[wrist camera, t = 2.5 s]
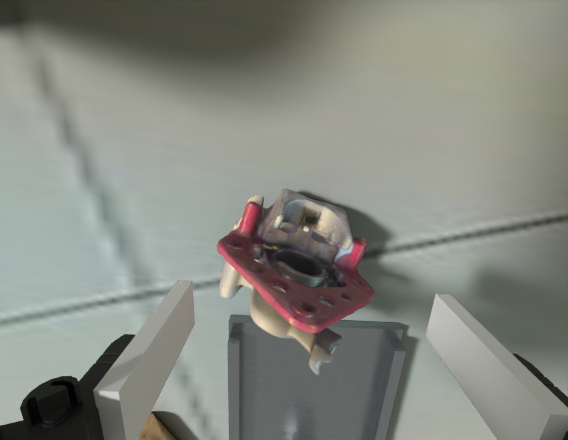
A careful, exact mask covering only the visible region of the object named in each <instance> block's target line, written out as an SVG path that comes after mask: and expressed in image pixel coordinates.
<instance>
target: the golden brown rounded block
mask: <svg viewBox="0 0 568 440" xmlns="http://www.w3.org/2000/svg"><path fill="white" fill-rule="evenodd" d="M137 440H176V439H175V438H174V437H173V436H172V435H171V434H170V432H169V431H168V430H167V429H166V428H165V427H164V426H163V425H162V423H161V422H160V421H159V420H158V419H157V418H156V417H155V416H154V415H153V413H150V415H149V417H148V419H147V421H146V423H145V425H144V427H143V429H142V431H141V433H140V435H139V437H138V439H137Z"/></svg>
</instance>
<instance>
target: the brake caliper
mask: <svg viewBox="0 0 568 440" xmlns="http://www.w3.org/2000/svg"><path fill="white" fill-rule="evenodd" d="M263 200H264V197H262V196H255V197H253V198H251V199H249V200H248V201H247V202H246V207H245V210H244V214H243V217H242V218H240V219H239V220H238V221H237V222H236V224H235V226H234V230H233V231H231V232H230V233H229V234H228V235H227V236H225V237H224V238H222V239H221V240H219V242H218V244H217V251H218V252H219V253H220V254H221V255H223V256H224V258H225V259H224V264H223V268H222V274H221V278H220V285H219V294H220V296H222V297H223V298H226V299H231V298H232V297H233V296H234V295H235V294H236V293H237V292H238V290H239V289H240V288H241V287H243V286H247V287H249V288H250V289H251V291H252V293H251V297H250V300H249V311H250V315H251V317H252V319H253V321H254V322H255V323H256V324H257V325H258V326H259V327H260V328H261V329H263V330H264V331H266V332H268V333H269V334H271V335H274V336H276V337H280V338H293V339H296V340H297V341H298V342H299V343H300V344H301V345H302V346H303V347H304V348H305V349H306V350H307V351H308V352H309V353H310V354H311V356H310V359H309V366H310V368H311V369H312V371H313V372H314V373H315V374H316V375H318V374H320V366H322V365H323V364H325V363H330V362H332V361H333V357H332V355H333V353H334V352H335V351H336V349H337V348H338V347H339V346H340V344H341V343H342V342H343V338H342V337H341V336H340V335H339V334H337V333H335V332H333V331H331V330H330V329H329V328H327V326H329V325H333V324H335V323H337V322H338V321H340V320H341V319H343V318H344V317H346V316H348V315H350V314H352V313H354V312H355V311H356V310H358V309H360V308H362V307H363V306H365V305H366V304H369V303H370V302H371V301H372V299H373V298H374V297H375V294H374V290H373V289H372V288H371V287H370V286H369V284H368V283H367V282H366V281H365V280H364V279H363V278H362V277H361V276H360V274H359V273H358V271H357V266H358V264H359V262H360V260H361V258H362V256H363V254H364V252H365V250H366V247H367V245H368V242H367V240H366V239H364V238H355V239H352V234H351V228H350V225H349V222H348V216H347V214H346V211H345V210H344V209H342V208H340V207H337V206H335V205H332V204H330V203H326V202H321V201H317V200H313V199H310V198H308V197H306V196H304V195H301V194H299V193H297V192H294V191H292V190H289V189H283V190H282V192H281V194H280V195H279V197H278V198H277V200H276V201H275V203H274V204H273V205H272V206H271V207H269V208H267V209H265V208H263V207H262V205H263Z"/></svg>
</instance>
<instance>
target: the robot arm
mask: <svg viewBox="0 0 568 440" xmlns="http://www.w3.org/2000/svg"><path fill="white" fill-rule="evenodd" d="M194 324H195V321H194V301H193V282H192V281H188V280H178V281H177V282H176V283H175V285H174V286H173V287H172V289H171V290H170V291H169V293H168V294H167V295H166V296H165V298H164V299H163V300H162V302H161V303H160V304H159V306H158V307H157V308H156V309H155V311H154V312H153V313H152V315H151V316H150V317H149V319H148V320H147V321H146V322H145V324H144V325H143V326H142V328H141V329H140V330H139V332H138V333H137V334H136V335H129V334H124V335H123V336H121V337H120V338H118V339H117V340H115V341H114V342H113V343H111V345H110V346H109V347H108V348H107V349H106V350H105V352H104V353H103V355H101V356H100V357H99V359H98V360H97V361H96V363H95V364H94V365H93V366H92V367H91V368H90V369H89V370H88V372H87V373H86V374H85V375H84V376H83V377H82V379H81V380H80V381H79V382H78V380H77V378H74V377H72V376H61V377H58V378H54V379H51V380H49V381H47V382H45V383H43V384H41V385H39V386H38V387H37V388H35V389H34V390H32V391H31V392H30V393H29V394H28V395H27V396H26V398H25V399H24V400H23V402H22V404H21V407H20V410H21V413H22V416H23V419H24V420H23V421H19V422H14V423H10V424H6V425H1V426H0V440H137V439H138V437H139V435H140V433H141V431H142V429H143V427H144V425H145V423H146V421H147V419H148V417H149V415H150V413H151V411H152V409H153V407H154V405H155V403H156V401H157V399H158V397H159V395H160V393H161V391H162V389H163V387H164V385H165V383H166V381H167V379H168V377H169V375H170V373H171V371H172V368H173V366H174V364H175V362H176V360H177V358H178V356H179V354H180V352H181V350H182V348H183V346H184V344H185V342H186V340H187V338H188V336H189V334H190V332H191V330H192V328H193V326H194ZM426 338H427V339H428V341H429V342H430V343H431V345H432V346H433V348H434V349H435V351H436V352H437V354H438V355H439V356H440V358H441V359H442V361H443V362H444V364H445V365H446V366H447V368H448V369H449V371H450V372H451V374H452V375H453V376H454V378H455V379H456V381H457V382H458V384H459V385H460V387H461V388H462V389H463V391H464V392H465V394H466V395H467V397H468V398H469V399H470V401H471V402H472V404H473V405H474V407H475V408H476V410H477V411H478V412H479V414H480V415H481V417H482V418H483V420H484V421H485V422H486V424H487V425H488V427H489V428H490V430H491V431H492V433H493V434H494V435H495V437H496V438H497V440H568V397H567V396H566V395H565V394H564V393H562V392H561V391H560V390H559V389H558V388H557V387H554V384H553V383H552V382H551V381H550V380H548V379H547V378H546V377H544V375H543V374H542V373H541V372H540V371H539V370H538V369H537V368H535V367H534V366H533V365H532V364H531V363H529V362H528V361H526V360H525V359H523V358H522V357H520V356H519V355H517V354H511V353H510V352H509V351H508V350H507V349H506V348H505V347H504V346H503V345H502V344H501V343H500V342H499V341H498V340H497V339H496V338H495V337H494V336H493V335H492V334H491V333H490V332H489V331H488V330H486V329H485V328H484V327H483V326H482V325H481V324H480V323H479V322H478V321H477V320H476V319H475V318H474V317H473V316H472V315H471V314H470V313H469V312H468V311H467V310H466V309H465V308H464V307H463V306H462V305H461V304H459V303H458V302H457V301H456V300H455V299H454V298H453V297H452V296H451V295H450V294H436V295H435V299H434V303H433V307H432V311H431V315H430V320H429V324H428V328H427V332H426Z"/></svg>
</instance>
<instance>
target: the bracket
mask: <svg viewBox="0 0 568 440" xmlns="http://www.w3.org/2000/svg"><path fill="white" fill-rule="evenodd" d="M327 328H329V329H330V330H331V331H333V332H335V333H337V334H339V335H340V336H341V337H342V338H343V342H342V343H341V344H340V346H339V347H338V348H337V349H336V351H335V352H334V353H333V355H332V357H333V361H332V362H330V363H325V364H323V365H322V366H320V374H318V375H316V374H315V373H314V372H313V371H312V369H311V368H310V366H309V359H310V356H311V354H310V353H309V352H308V351H307V350H306V349H305V348H304V347H303V346H302V345H301V344H300V343H299V342H298V341H297V340H296V339H293V338H280V337H276V336H274V335H271V334H269V333H268V332H266V331H264V330H263V329H261V328H260V327H259V326H258V325H257V324H256V323H255V322H254V321H253V319H252V317H251V316H242V315H231V316H230V319H229V340H228V400H229V440H385V439H386V434H387V430H388V426H389V422H390V418H391V414H392V409H393V405H394V401H395V397H396V393H397V389H398V384H399V380H400V376H401V372H402V368H403V363H404V359H405V355H406V350H405V348H404V346H403V345H402V343H401V340H402V335H403V331H404V330H403V328H402V327H401V325H400V323H391V322H369V321H348V320H340V321H338V322H337V323H335V324H333V325H329V326H327Z"/></svg>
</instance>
